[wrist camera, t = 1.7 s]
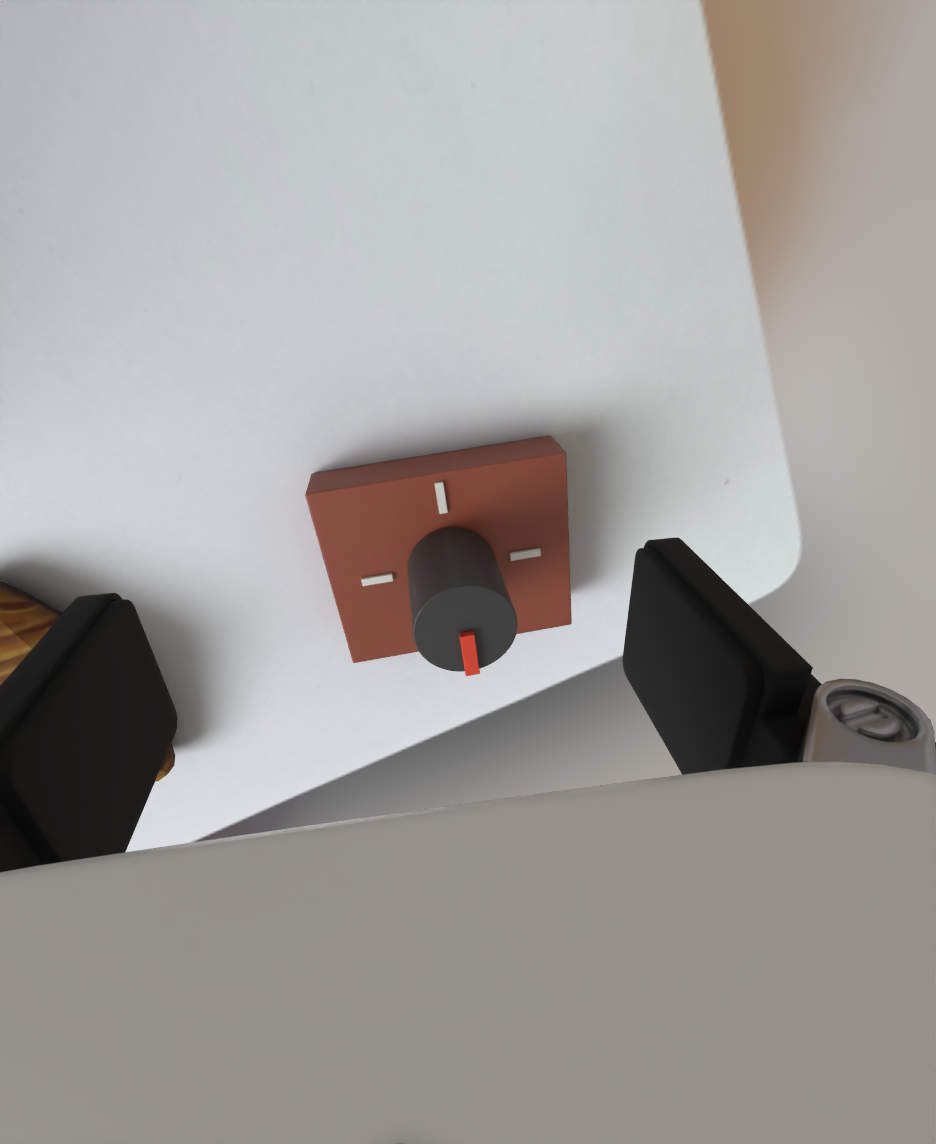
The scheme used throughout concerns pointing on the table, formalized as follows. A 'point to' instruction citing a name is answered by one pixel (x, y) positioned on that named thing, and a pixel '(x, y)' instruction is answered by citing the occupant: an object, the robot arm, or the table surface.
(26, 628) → the croissant
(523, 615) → the control panel
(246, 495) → the table surface
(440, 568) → the knob
